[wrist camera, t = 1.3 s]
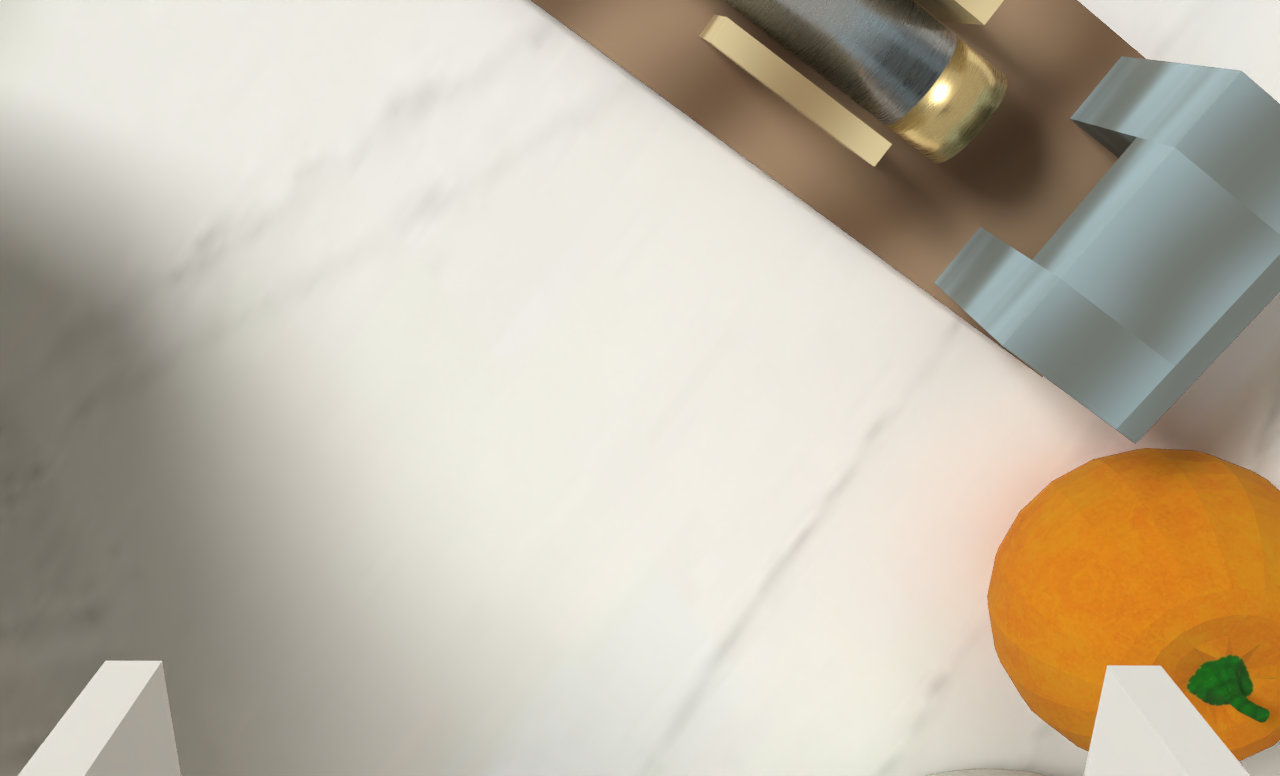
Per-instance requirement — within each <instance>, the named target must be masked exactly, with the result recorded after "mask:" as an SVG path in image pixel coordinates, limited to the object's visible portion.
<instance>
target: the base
mask: <svg viewBox="0 0 1280 776" xmlns="http://www.w3.org/2000/svg"><path fill="white" fill-rule="evenodd" d="M531 1H533V2H534V3H536V4H537V5H538V6H540V7H541V8H542V9H544V10H545V11H546V12H548V13H549V14H550V15H552V16H553V17H555V18H556V19H557V20H559V21H560V22H561V23H563V24H564V25H565V26H567V27H568V28H569V29H571V30H572V31H574V32H575V33H576V34H578V35H579V36H580V37H582V38H583V39H584V40H586V41H587V42H588V43H590V44H591V45H593V46H594V47H595V48H597V49H598V50H599V51H601V52H602V53H603V54H605V55H606V56H607V57H609V58H610V59H612V60H613V61H614V62H616V63H617V64H618V65H620V66H621V67H622V68H624V69H625V70H626V71H628V72H629V73H631V74H632V75H633V76H635V77H636V78H637V79H639V80H640V81H641V82H643V83H644V84H645V85H647V86H648V87H650V88H651V89H652V90H654V91H655V92H656V93H658V94H659V95H660V96H662V97H663V98H664V99H666V100H667V101H669V102H670V103H671V104H673V105H674V106H675V107H677V108H678V109H679V110H681V111H682V112H683V113H685V114H686V115H688V116H689V117H690V118H692V119H693V120H694V121H696V122H697V123H698V124H700V125H701V126H702V127H704V128H705V129H707V130H708V131H709V132H711V133H712V134H713V135H715V136H716V137H717V138H719V139H720V140H721V141H723V142H724V143H726V144H727V145H728V146H730V147H731V148H732V149H734V150H735V151H736V152H738V153H739V154H740V155H742V156H743V157H745V158H746V159H747V160H749V161H750V162H751V163H753V164H754V165H755V166H757V167H758V168H759V169H761V170H762V171H764V172H765V173H766V174H768V175H769V176H770V177H772V178H773V179H774V180H776V181H777V182H778V183H780V184H781V185H783V186H784V187H785V188H787V189H788V190H789V191H791V192H792V193H793V194H795V195H796V196H797V197H799V198H800V199H802V200H803V201H804V202H806V203H807V204H808V205H810V206H811V207H812V208H814V209H815V210H816V211H818V212H819V213H821V214H822V215H823V216H825V217H826V218H827V219H829V220H830V221H831V222H833V223H834V224H835V225H837V226H838V227H840V228H841V229H842V230H844V231H845V232H846V233H848V234H849V235H850V236H852V237H853V238H854V239H856V240H857V241H858V242H860V243H861V244H863V245H864V246H865V247H867V248H868V249H869V250H871V251H872V252H873V253H875V254H876V255H877V256H879V257H880V258H882V259H883V260H884V261H886V262H887V263H888V264H890V265H891V266H892V267H894V268H895V269H896V270H898V271H899V272H901V273H902V274H903V275H905V276H906V277H907V278H909V279H910V280H911V281H913V282H914V283H915V284H917V285H918V286H920V287H921V288H922V289H924V290H925V291H926V292H928V293H929V294H930V295H932V296H933V297H934V298H936V299H937V300H939V301H940V302H941V303H943V304H944V305H945V306H947V307H948V308H949V309H951V310H952V311H953V312H955V313H956V314H958V315H959V316H960V317H962V318H963V319H964V320H966V321H967V322H968V323H970V324H971V325H972V326H974V327H975V328H977V329H978V330H979V331H981V332H982V333H983V334H985V335H986V336H987V337H989V338H990V339H991V340H993V341H994V342H996V343H997V344H998V345H1000V346H1001V347H1002V348H1004V349H1005V350H1006V351H1008V352H1009V353H1010V354H1012V355H1013V356H1015V357H1016V358H1017V359H1019V360H1020V361H1021V362H1023V363H1024V364H1025V365H1027V366H1028V367H1029V368H1031V369H1032V370H1034V371H1035V372H1036V373H1038V374H1039V375H1040V376H1042V377H1043V376H1044V377H1045V378H1047V379H1048V380H1050V381H1051V382H1052V383H1054V384H1055V385H1056V386H1058V387H1059V388H1060V389H1062V390H1063V391H1064V392H1066V393H1067V394H1069V395H1070V396H1071V397H1073V398H1074V399H1075V400H1077V401H1078V402H1079V403H1081V404H1082V405H1083V406H1085V407H1086V408H1088V409H1089V410H1090V411H1092V412H1093V413H1094V414H1096V415H1097V416H1098V417H1100V418H1101V419H1102V420H1104V421H1105V422H1107V423H1108V424H1109V425H1111V426H1112V427H1113V428H1115V429H1116V430H1117V431H1119V432H1120V433H1121V434H1123V435H1124V436H1125V437H1127V438H1128V439H1130V440H1131V441H1132V442H1134V443H1135V444H1136V443H1137V442H1138V441H1139V440H1140V438H1141V437H1142V436H1143V435H1144V434H1145V433H1146V432H1147V431H1148V430H1149V429H1150V428H1151V427H1152V426H1153V425H1154V424H1155V423H1156V422H1157V421H1158V419H1159V418H1160V417H1161V416H1162V415H1163V414H1164V413H1165V412H1166V411H1167V410H1168V409H1169V408H1170V407H1171V406H1172V405H1173V404H1174V403H1175V402H1176V400H1177V399H1178V398H1179V397H1180V396H1181V395H1182V394H1183V393H1184V392H1185V391H1186V390H1187V389H1188V388H1189V387H1190V386H1191V385H1192V384H1193V382H1194V381H1195V380H1196V379H1197V378H1198V377H1199V376H1200V375H1201V374H1202V373H1203V372H1204V371H1205V370H1206V369H1207V368H1208V367H1209V366H1210V365H1211V363H1212V362H1213V361H1214V360H1215V359H1216V358H1217V357H1218V356H1219V355H1220V354H1221V353H1222V352H1223V351H1224V350H1225V349H1226V348H1227V347H1228V345H1229V344H1230V343H1231V342H1232V341H1233V340H1234V339H1235V338H1236V337H1237V336H1238V335H1239V334H1240V333H1241V332H1242V331H1243V330H1244V329H1245V328H1246V326H1247V325H1248V324H1249V323H1250V322H1251V321H1252V320H1253V319H1254V318H1255V317H1256V316H1257V315H1258V314H1259V313H1260V312H1261V311H1262V310H1263V309H1264V307H1265V306H1266V305H1267V304H1268V303H1269V302H1270V301H1271V300H1272V299H1273V298H1274V297H1275V296H1276V295H1277V294H1278V293H1279V292H1280V104H1279V103H1278V102H1277V101H1276V100H1274V99H1273V98H1272V97H1271V96H1270V95H1269V94H1268V93H1266V92H1265V91H1264V90H1263V89H1262V88H1261V87H1259V86H1258V85H1257V84H1256V83H1255V82H1254V81H1253V80H1251V79H1250V78H1249V77H1248V76H1247V75H1246V74H1245V73H1243V72H1242V71H1239V70H1231V69H1222V68H1214V67H1206V66H1198V65H1189V64H1181V63H1173V62H1165V61H1156V60H1148V59H1145V58H1144V57H1143V56H1142V55H1141V54H1140V53H1138V52H1137V51H1136V50H1135V49H1134V48H1133V47H1131V46H1130V45H1129V44H1128V43H1127V42H1125V41H1124V40H1123V39H1122V38H1121V37H1120V36H1118V35H1117V34H1116V33H1115V32H1114V31H1113V30H1111V29H1110V28H1109V27H1108V26H1107V25H1106V24H1104V23H1103V22H1102V21H1101V20H1100V19H1098V18H1097V17H1096V16H1095V15H1094V14H1093V13H1091V12H1090V11H1089V10H1088V9H1087V8H1086V7H1084V6H1083V5H1082V4H1081V3H1080V2H1078V1H1077V0H913V1H914V2H915V3H916V4H918V5H919V6H920V7H921V8H923V9H924V10H925V11H926V12H927V13H929V14H930V15H931V16H932V17H934V18H935V19H936V20H937V21H939V22H940V23H941V24H942V25H943V26H945V27H946V28H947V29H948V30H950V31H951V32H952V33H953V34H955V35H956V36H957V37H958V38H959V39H961V40H962V41H963V42H964V43H966V44H967V45H968V46H969V47H971V48H972V49H973V50H974V51H975V52H977V53H978V54H979V55H980V56H982V57H983V58H984V59H985V60H987V61H988V62H989V63H990V64H991V65H993V66H994V67H995V68H996V69H998V70H999V71H1000V72H1001V73H1003V74H1004V75H1005V76H1006V77H1007V79H1008V86H1007V90H1006V93H1005V95H1004V98H1003V100H1002V102H1001V103H1000V105H999V107H998V109H997V110H996V112H995V113H994V115H993V116H992V117H991V119H990V120H989V122H988V123H987V124H986V125H985V127H984V128H983V129H982V130H981V131H980V133H979V134H978V135H977V136H976V137H975V138H974V139H973V140H972V141H971V142H970V143H969V144H968V145H967V146H966V147H965V148H964V149H962V150H961V151H960V152H959V153H957V154H956V155H955V156H953V157H952V158H950V159H949V160H947V161H945V162H942V163H934V162H932V161H931V160H930V159H929V158H927V157H926V156H925V155H923V154H922V153H921V152H920V151H918V150H917V149H916V148H914V147H913V146H912V145H910V144H909V143H908V142H907V141H905V140H904V139H903V138H901V137H900V136H899V135H898V134H896V133H895V132H894V131H892V130H891V129H890V128H889V127H887V126H886V125H885V124H883V123H882V122H881V121H879V120H878V119H877V118H876V117H874V116H873V115H872V114H870V113H869V112H868V111H867V110H865V109H864V108H863V107H861V106H860V105H859V104H857V103H856V102H855V101H854V100H852V99H851V98H850V97H848V96H847V95H846V94H845V93H843V92H842V91H841V90H839V89H838V88H837V87H835V86H834V85H833V84H832V83H830V82H829V81H828V80H826V79H825V78H824V77H823V76H821V75H820V74H819V73H817V72H816V71H815V70H814V69H812V68H811V67H810V66H808V65H807V64H806V63H804V62H803V61H802V60H801V59H799V58H798V57H797V56H795V55H794V54H793V53H792V52H790V51H789V50H788V49H786V48H785V47H784V46H782V45H781V44H780V43H779V42H777V41H776V40H775V39H773V38H772V37H771V36H770V35H768V34H767V33H766V32H764V31H763V30H762V29H761V28H759V27H758V26H757V25H755V24H754V23H753V22H751V21H750V20H749V19H748V18H746V17H745V16H744V15H742V14H741V13H740V12H739V11H737V10H736V9H735V8H733V7H732V6H731V5H729V4H728V3H727V2H726V1H724V0H531Z"/></svg>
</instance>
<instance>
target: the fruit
mask: <svg viewBox="0 0 1280 776" xmlns="http://www.w3.org/2000/svg"><path fill="white" fill-rule="evenodd" d="M987 597H988V608H989V614H990V621H991V627H992V633H993V639H994V645H995V649H996V652H997V654H998V657H999V659H1000V662H1001V664H1002V665H1003V667H1004V669H1005V670H1006V672H1007V673H1008V675H1009V677H1010V678H1011V680H1012V682H1013V683H1014V685H1015V687H1016V688H1017V690H1018V692H1019V693H1020V695H1021V696H1022V698H1023V699H1024V701H1025V702H1026V703H1027V705H1028V706H1029V707H1030V709H1031V710H1032V711H1033V712H1034V713H1035V714H1037V715H1038V716H1039V717H1040V718H1041V719H1043V720H1044V721H1045V722H1046V723H1048V724H1049V725H1050V726H1051V727H1053V728H1054V729H1055V730H1057V731H1058V732H1059V733H1061V734H1062V735H1063V736H1065V737H1066V738H1067V739H1069V740H1070V741H1071V742H1072V743H1074V744H1075V745H1076V746H1078V747H1080V748H1082V749H1084V750H1086V751H1089V748H1090V743H1091V739H1092V734H1093V729H1094V725H1095V720H1096V715H1097V711H1098V706H1099V701H1100V697H1101V692H1102V687H1103V682H1104V678H1105V673H1106V668H1107V665H1128V666H1161V667H1162V668H1163V669H1164V670H1165V671H1166V673H1167V674H1168V675H1169V676H1170V678H1171V679H1172V680H1173V681H1174V683H1175V684H1176V685H1177V686H1178V687H1179V689H1180V690H1181V691H1182V692H1183V694H1184V695H1185V696H1186V697H1187V699H1188V700H1189V701H1190V702H1191V703H1192V705H1193V706H1194V707H1195V708H1196V710H1197V711H1198V712H1199V713H1200V715H1201V716H1202V717H1203V718H1204V719H1205V721H1206V722H1207V723H1208V724H1209V726H1210V727H1211V728H1212V729H1213V731H1214V732H1215V733H1216V734H1217V735H1218V737H1219V738H1220V739H1221V740H1222V742H1223V743H1224V744H1225V745H1226V747H1227V748H1228V749H1229V750H1230V751H1231V753H1232V754H1233V755H1234V756H1235V758H1236V759H1237V760H1238V761H1241V760H1243V759H1245V758H1247V757H1249V756H1251V755H1254V754H1256V753H1258V752H1260V751H1262V750H1264V749H1266V748H1269V747H1271V746H1273V745H1274V744H1275V743H1277V742H1278V741H1279V740H1280V491H1279V490H1278V489H1277V488H1276V487H1275V486H1274V485H1273V484H1271V483H1270V482H1269V481H1268V480H1267V479H1265V478H1263V477H1261V476H1260V475H1258V474H1256V473H1255V472H1253V471H1250V470H1248V469H1245V468H1243V467H1240V466H1237V465H1235V464H1232V463H1230V462H1227V461H1225V460H1222V459H1219V458H1217V457H1214V456H1212V455H1209V454H1206V453H1202V452H1198V451H1192V450H1173V449H1154V448H1144V449H1136V450H1132V451H1128V452H1124V453H1119V454H1115V455H1111V456H1106V457H1102V458H1098V459H1093V460H1091V461H1089V462H1087V463H1086V464H1084V465H1082V466H1080V467H1078V468H1076V469H1074V470H1072V471H1071V472H1069V473H1067V474H1065V475H1063V476H1061V477H1059V478H1058V479H1056V480H1054V481H1052V482H1051V483H1050V484H1049V485H1048V486H1047V487H1046V488H1045V489H1043V490H1042V491H1041V492H1040V493H1039V494H1038V495H1037V496H1036V497H1035V498H1034V499H1033V500H1032V501H1031V502H1030V503H1029V504H1028V505H1027V506H1025V507H1024V508H1023V509H1022V510H1021V511H1020V512H1019V514H1018V516H1017V517H1016V519H1015V521H1014V522H1013V524H1012V526H1011V528H1010V529H1009V531H1008V533H1007V534H1006V536H1005V538H1004V540H1003V541H1002V543H1001V545H1000V547H999V548H998V551H997V554H996V557H995V562H994V567H993V571H992V576H991V581H990V586H989V591H988V596H987Z"/></svg>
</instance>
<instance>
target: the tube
mask: <svg viewBox="0 0 1280 776" xmlns="http://www.w3.org/2000/svg"><path fill="white" fill-rule="evenodd" d="M724 1H726V2H727V3H728V4H729V5H731V6H732V7H733V8H735V9H736V10H737V11H739V12H740V13H741V14H742V15H744V16H745V17H746V18H748V19H749V20H750V21H751V22H753V23H754V24H755V25H757V26H758V27H759V28H761V29H762V30H763V31H764V32H766V33H767V34H768V35H770V36H771V37H772V38H773V39H775V40H776V41H777V42H779V43H780V44H781V45H782V46H784V47H785V48H786V49H788V50H789V51H790V52H792V53H793V54H794V55H795V56H797V57H798V58H799V59H801V60H802V61H803V62H804V63H806V64H807V65H808V66H810V67H811V68H812V69H814V70H815V71H816V72H817V73H819V74H820V75H821V76H823V77H824V78H825V79H826V80H828V81H829V82H830V83H832V84H833V85H834V86H835V87H837V88H838V89H839V90H841V91H842V92H843V93H845V94H846V95H847V96H848V97H850V98H851V99H852V100H854V101H855V102H856V103H857V104H859V105H860V106H861V107H863V108H864V109H865V110H867V111H868V112H869V113H870V114H872V115H873V116H874V117H876V118H877V119H878V120H879V121H881V122H882V123H883V124H885V125H886V126H887V127H889V128H890V129H891V130H892V131H894V132H895V133H896V134H898V135H899V136H900V137H901V138H903V139H904V140H905V141H907V142H908V143H909V144H910V145H912V146H913V147H914V148H916V149H917V150H918V151H920V152H921V153H922V154H923V155H925V156H926V157H927V158H929V159H930V160H931V161H932V162H934V163H942V162H945V161H947V160H949V159H950V158H952V157H953V156H955V155H956V154H957V153H959V152H960V151H961V150H962V149H964V148H965V147H966V146H967V145H968V144H969V143H970V142H971V141H972V140H973V139H974V138H975V137H976V136H977V135H978V134H979V133H980V131H981V130H982V129H983V128H984V127H985V125H986V124H987V123H988V122H989V120H990V119H991V117H992V116H993V115H994V113H995V112H996V110H997V109H998V107H999V105H1000V103H1001V102H1002V100H1003V98H1004V95H1005V93H1006V90H1007V86H1008V79H1007V77H1006V76H1005V75H1004V74H1003V73H1001V72H1000V71H999V70H998V69H996V68H995V67H994V66H993V65H991V64H990V63H989V62H988V61H987V60H985V59H984V58H983V57H982V56H980V55H979V54H978V53H977V52H975V51H974V50H973V49H972V48H971V47H969V46H968V45H967V44H966V43H964V42H963V41H962V40H961V39H959V38H958V37H957V36H956V35H955V34H953V33H952V32H951V31H950V30H948V29H947V28H946V27H945V26H943V25H942V24H941V23H940V22H939V21H937V20H936V19H935V18H934V17H932V16H931V15H930V14H929V13H927V12H926V11H925V10H924V9H923V8H921V7H920V6H919V5H918V4H916V3H915V2H914V1H913V0H724Z"/></svg>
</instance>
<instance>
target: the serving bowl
mask: <svg viewBox="0 0 1280 776" xmlns="http://www.w3.org/2000/svg"><path fill="white" fill-rule="evenodd" d="M926 776H1046V775H1041V774H1035V773H1030V772H1024V771H1014V770H1003V769H970V770H958V771H948V772H942V773H936V774H930V775H926Z"/></svg>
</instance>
